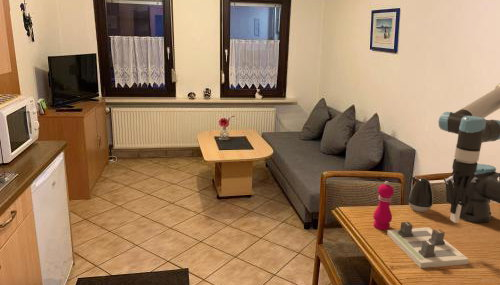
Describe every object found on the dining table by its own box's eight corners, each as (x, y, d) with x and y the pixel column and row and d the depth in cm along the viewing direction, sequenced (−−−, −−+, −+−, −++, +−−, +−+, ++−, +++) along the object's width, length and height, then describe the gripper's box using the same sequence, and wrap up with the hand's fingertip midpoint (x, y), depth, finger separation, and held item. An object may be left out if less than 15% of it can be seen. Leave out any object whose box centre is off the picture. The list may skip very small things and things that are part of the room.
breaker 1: (408, 231, 154) (410, 221, 153) (413, 236, 151) (414, 225, 150) (398, 232, 153) (399, 221, 152) (402, 236, 150) (403, 225, 149)
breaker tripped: (439, 239, 149) (441, 228, 148) (444, 244, 146) (446, 232, 145) (428, 240, 148) (430, 229, 147) (433, 244, 145) (435, 233, 144)
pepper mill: (391, 231, 158) (398, 185, 153) (373, 229, 160) (378, 183, 154) (389, 223, 165) (395, 178, 160) (371, 221, 167) (376, 177, 161)
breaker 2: (429, 251, 141) (431, 239, 140) (435, 256, 138) (437, 244, 137) (418, 252, 140) (420, 240, 139) (423, 257, 137) (425, 245, 136)
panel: (428, 231, 159) (429, 226, 159) (467, 264, 137) (468, 258, 137) (386, 234, 156) (387, 229, 156) (420, 268, 134) (421, 262, 134)
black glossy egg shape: (412, 202, 186) (416, 172, 182) (435, 210, 179) (440, 178, 175) (402, 209, 179) (407, 177, 175) (425, 216, 172) (430, 184, 168)
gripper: (474, 156, 144) (463, 215, 150) (442, 157, 142) (431, 217, 148) (490, 163, 137) (477, 224, 143) (456, 163, 134) (444, 226, 141)
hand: (454, 220), depth 145 cm, fingers closed
